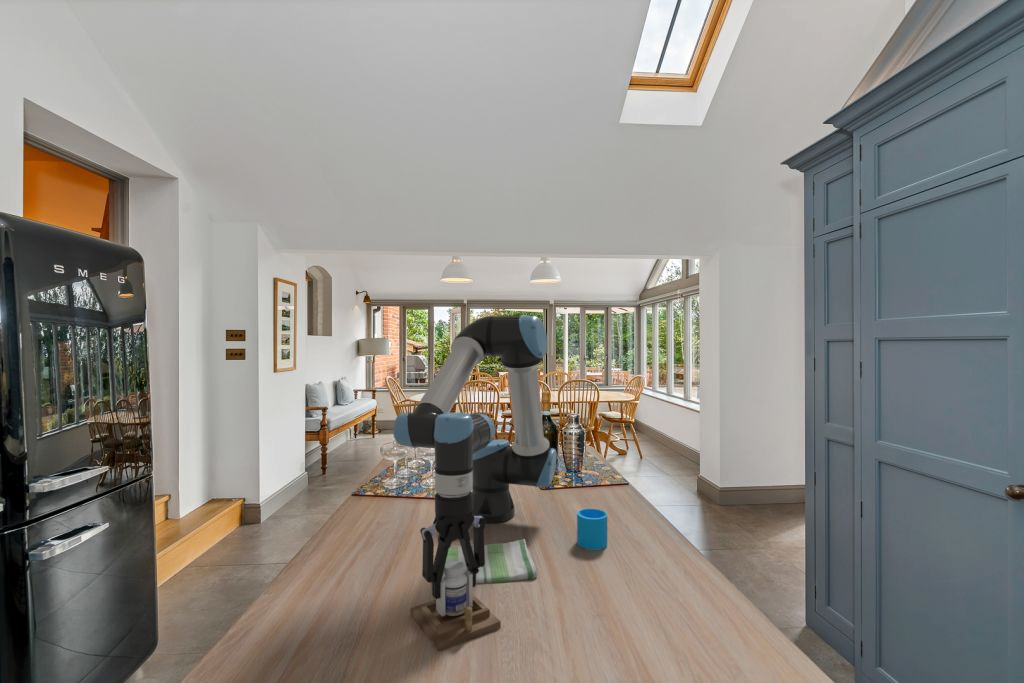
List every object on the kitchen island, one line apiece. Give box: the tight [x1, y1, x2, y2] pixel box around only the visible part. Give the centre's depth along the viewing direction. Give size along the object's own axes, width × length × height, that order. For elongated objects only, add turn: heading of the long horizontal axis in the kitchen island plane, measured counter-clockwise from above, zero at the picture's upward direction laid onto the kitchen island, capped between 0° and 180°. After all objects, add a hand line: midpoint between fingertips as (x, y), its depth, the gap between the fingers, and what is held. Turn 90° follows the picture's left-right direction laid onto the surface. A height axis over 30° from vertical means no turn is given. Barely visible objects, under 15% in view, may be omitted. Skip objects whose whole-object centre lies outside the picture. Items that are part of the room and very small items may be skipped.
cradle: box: [409, 594, 502, 652], centre depth 97 cm, size 14×13×5 cm
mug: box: [576, 508, 608, 551], centre depth 135 cm, size 12×8×8 cm
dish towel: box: [443, 538, 538, 585], centre depth 120 cm, size 17×23×4 cm
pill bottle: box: [442, 561, 468, 616], centre depth 97 cm, size 5×5×9 cm
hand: (454, 607), depth 97 cm, fingers closed on pill bottle, 5 cm apart
